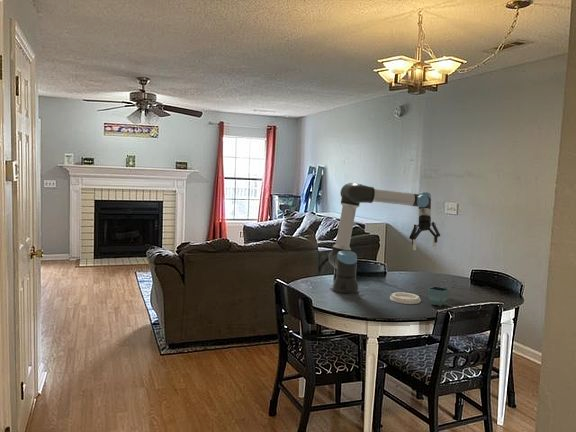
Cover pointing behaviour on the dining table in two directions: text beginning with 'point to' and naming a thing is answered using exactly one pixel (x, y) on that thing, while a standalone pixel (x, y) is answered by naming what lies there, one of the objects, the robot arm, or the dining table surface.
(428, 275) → the dining table surface
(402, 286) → the dining table surface
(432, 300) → the flower pot
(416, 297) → the plant saucer
